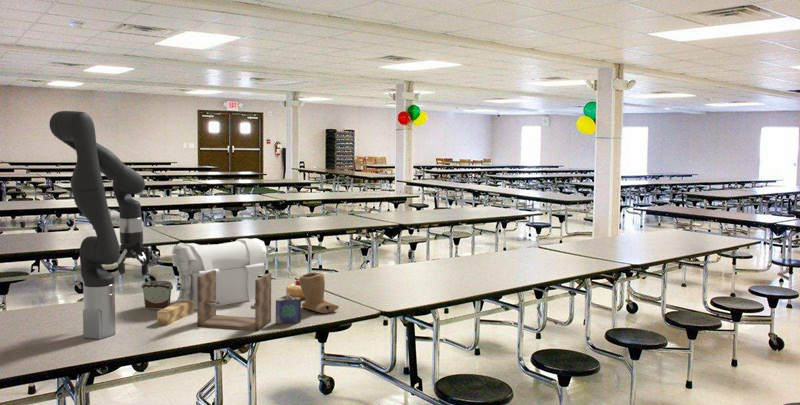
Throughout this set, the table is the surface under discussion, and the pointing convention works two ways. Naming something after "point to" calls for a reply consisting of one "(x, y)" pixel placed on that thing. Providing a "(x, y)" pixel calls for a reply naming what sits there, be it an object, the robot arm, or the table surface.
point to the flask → (288, 310)
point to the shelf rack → (210, 319)
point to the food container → (157, 294)
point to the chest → (221, 268)
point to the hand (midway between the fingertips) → (133, 274)
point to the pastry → (295, 290)
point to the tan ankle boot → (315, 293)
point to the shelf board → (175, 312)
